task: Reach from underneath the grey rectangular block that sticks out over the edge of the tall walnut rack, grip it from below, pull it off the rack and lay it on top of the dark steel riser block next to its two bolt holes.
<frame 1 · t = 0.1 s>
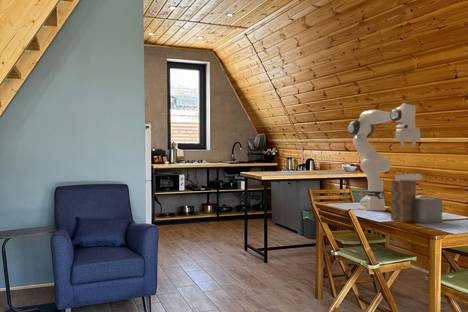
hand: (408, 146, 303), 48 cm above the table, tool pointing down, fingers open, 8 cm apart
pneumatic valve: (420, 210, 327), on the table
riser block: (427, 221, 279), on the table
grey rectangular block: (408, 180, 287), point 26 cm above the table, touching rack
rack: (403, 220, 286), on the table
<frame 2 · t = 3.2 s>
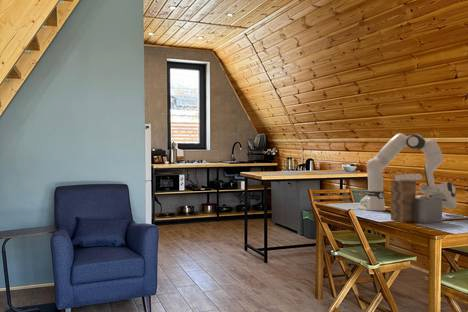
hand: (426, 185, 294), 22 cm above the table, tool pointing upward, fingers open, 8 cm apart
nothing on the table moved.
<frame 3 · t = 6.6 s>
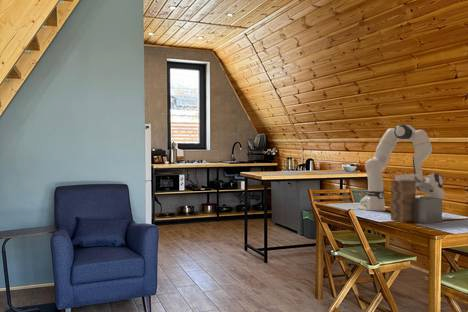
hand: (413, 176, 289), 28 cm above the table, tool pointing upward, fingers closed on grey rectangular block, 3 cm apart
grey rectangular block: (408, 180, 287), point 26 cm above the table, touching gripper, rack
everything else where it was.
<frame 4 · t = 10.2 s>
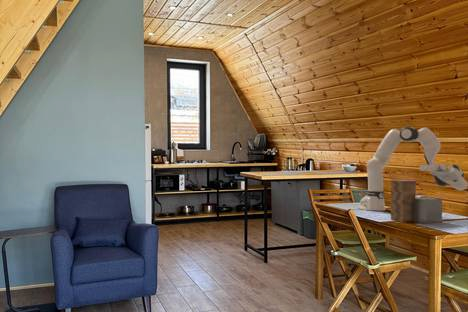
hand: (437, 166, 289), 35 cm above the table, tool pointing upward, fingers closed on grey rectangular block, 3 cm apart
grey rectangular block: (432, 169, 287), point 33 cm above the table, touching gripper
everything else where it was.
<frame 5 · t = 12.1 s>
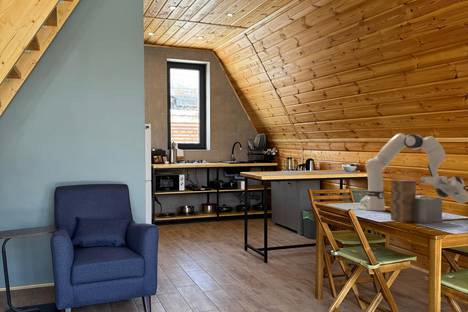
hand: (438, 178, 283), 27 cm above the table, tool pointing upward, fingers closed on grey rectangular block, 3 cm apart
grey rectangular block: (433, 182, 281), point 25 cm above the table, touching gripper
everything else where it was.
when the fingers open (19 cm above the table, at t = 13.8 s): grey rectangular block drops 2 cm, resting on riser block.
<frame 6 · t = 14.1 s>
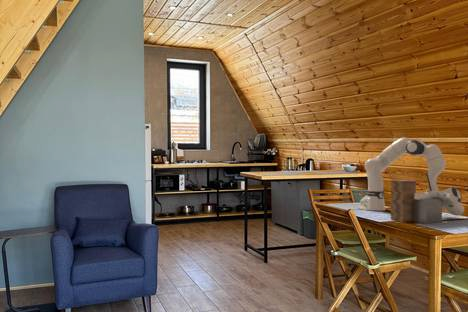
hand: (432, 191, 281), 19 cm above the table, tool pointing upward, fingers open, 6 cm apart
grey rectangular block: (427, 198, 279), point 15 cm above the table, touching riser block
everything else where it was.
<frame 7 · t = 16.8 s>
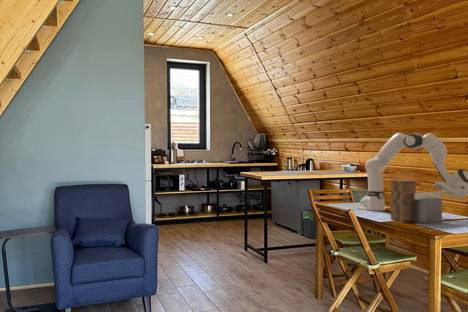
hand: (437, 189, 287), 20 cm above the table, tool horizontal, fingers open, 8 cm apart
nothing on the table moved.
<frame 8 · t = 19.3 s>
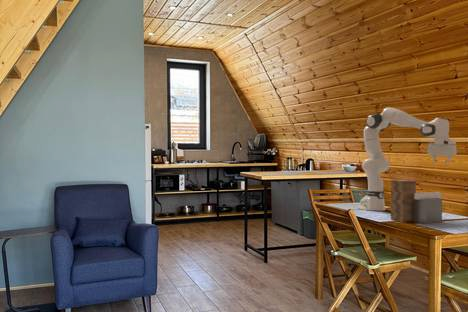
hand: (441, 162, 293), 37 cm above the table, tool pointing down, fingers open, 8 cm apart
nothing on the table moved.
at the end: grey rectangular block inside the target area on the riser block (0.1 cm from its centre), point 15.0 cm above the riser block's base; grey rectangular block touching riser block; the gripper is holding nothing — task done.
